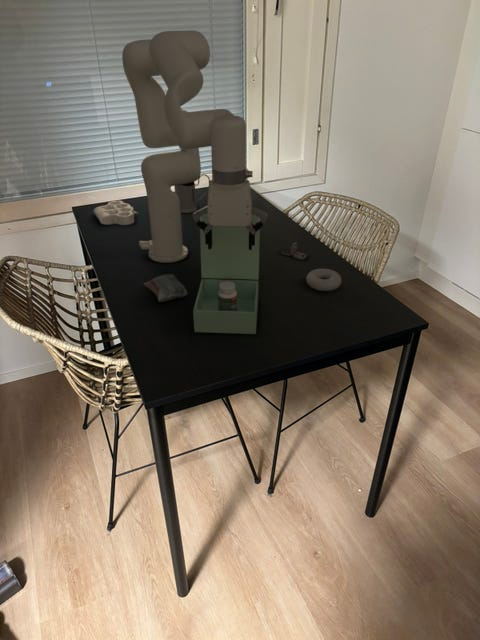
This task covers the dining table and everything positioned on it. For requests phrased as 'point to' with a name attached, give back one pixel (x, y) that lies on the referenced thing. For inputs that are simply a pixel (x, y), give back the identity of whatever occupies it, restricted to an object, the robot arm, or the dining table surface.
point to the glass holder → (188, 196)
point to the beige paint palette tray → (115, 213)
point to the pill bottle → (227, 297)
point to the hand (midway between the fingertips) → (230, 247)
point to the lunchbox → (226, 321)
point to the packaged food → (166, 287)
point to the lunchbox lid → (230, 253)
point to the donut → (323, 279)
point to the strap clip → (292, 252)
